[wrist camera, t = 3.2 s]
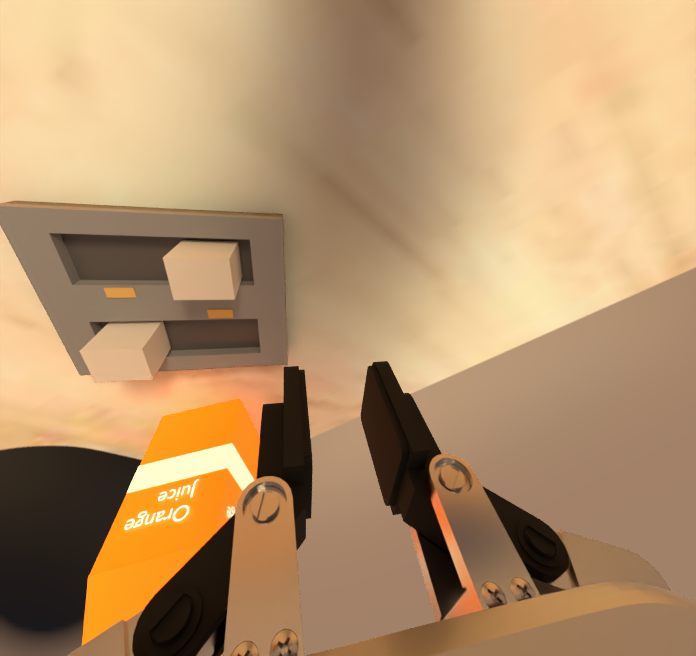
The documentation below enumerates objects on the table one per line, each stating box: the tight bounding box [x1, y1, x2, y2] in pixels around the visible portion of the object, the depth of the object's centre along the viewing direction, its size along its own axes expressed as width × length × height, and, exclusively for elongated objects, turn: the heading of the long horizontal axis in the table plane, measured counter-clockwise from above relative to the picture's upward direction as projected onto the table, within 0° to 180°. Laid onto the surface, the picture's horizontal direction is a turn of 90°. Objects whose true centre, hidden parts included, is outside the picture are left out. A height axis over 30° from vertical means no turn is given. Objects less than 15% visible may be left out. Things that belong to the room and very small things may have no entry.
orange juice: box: [82, 399, 260, 656], centre depth 26 cm, size 8×9×20 cm
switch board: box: [0, 201, 288, 375], centre depth 24 cm, size 18×14×2 cm
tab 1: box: [79, 321, 171, 383], centre depth 23 cm, size 4×3×4 cm
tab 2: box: [163, 240, 242, 300], centre depth 21 cm, size 4×3×4 cm
